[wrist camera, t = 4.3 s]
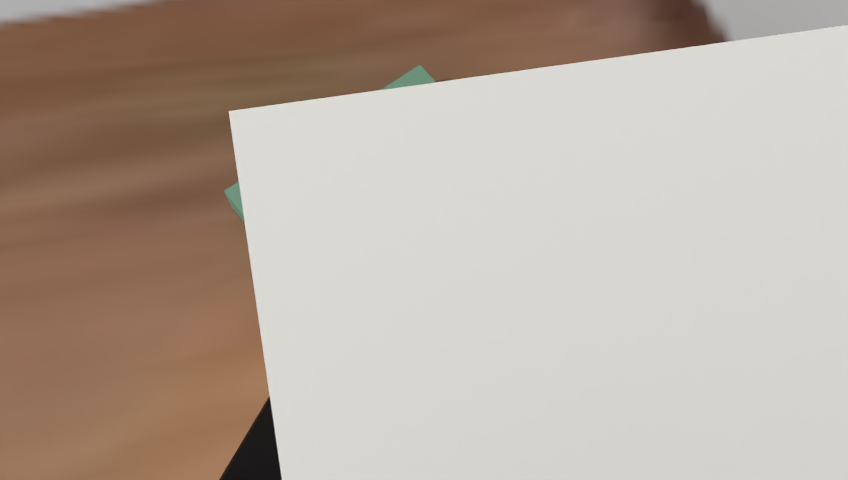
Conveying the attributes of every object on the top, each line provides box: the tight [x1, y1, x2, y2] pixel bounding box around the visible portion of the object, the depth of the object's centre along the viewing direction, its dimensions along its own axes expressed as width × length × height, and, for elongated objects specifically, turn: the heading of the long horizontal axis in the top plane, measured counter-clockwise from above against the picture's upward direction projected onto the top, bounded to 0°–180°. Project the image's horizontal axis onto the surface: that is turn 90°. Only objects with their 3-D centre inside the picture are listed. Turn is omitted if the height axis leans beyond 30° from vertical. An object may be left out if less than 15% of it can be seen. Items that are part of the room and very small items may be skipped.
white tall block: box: [229, 25, 848, 480], centre depth 8 cm, size 5×5×12 cm
